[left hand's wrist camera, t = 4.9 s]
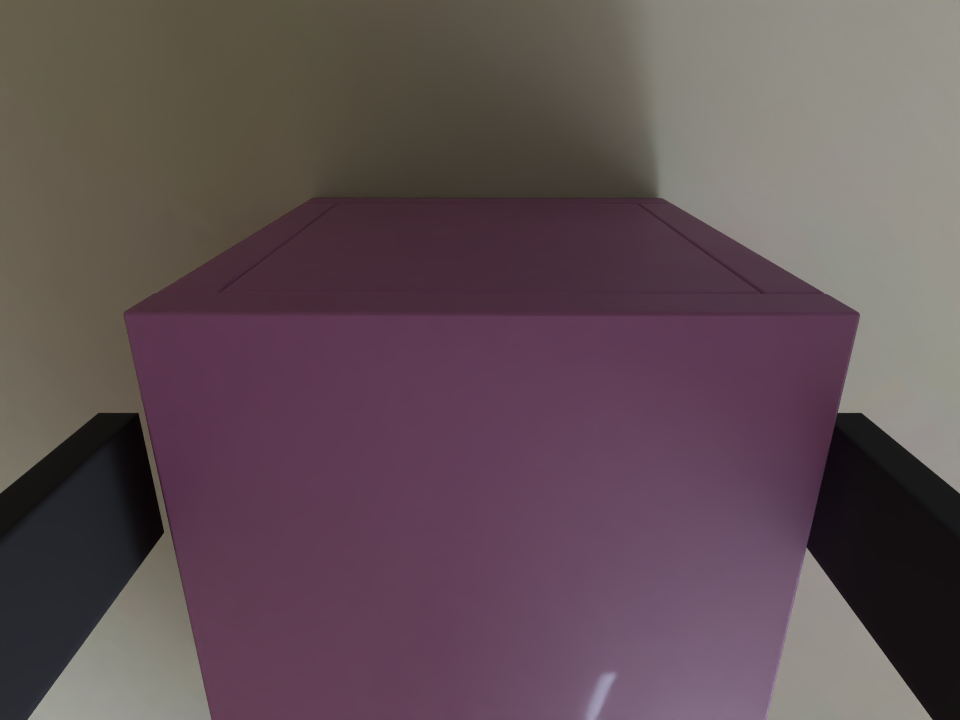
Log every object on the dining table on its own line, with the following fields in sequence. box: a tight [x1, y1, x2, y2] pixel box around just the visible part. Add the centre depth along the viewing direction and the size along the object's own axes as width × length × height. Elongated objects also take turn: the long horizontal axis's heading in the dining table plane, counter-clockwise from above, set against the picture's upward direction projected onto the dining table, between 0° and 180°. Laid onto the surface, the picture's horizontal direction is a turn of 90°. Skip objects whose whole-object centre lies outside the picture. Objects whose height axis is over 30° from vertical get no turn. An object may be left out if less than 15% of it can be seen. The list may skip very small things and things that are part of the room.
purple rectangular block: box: [124, 198, 860, 720], centre depth 20 cm, size 21×12×12 cm, turn 0°
